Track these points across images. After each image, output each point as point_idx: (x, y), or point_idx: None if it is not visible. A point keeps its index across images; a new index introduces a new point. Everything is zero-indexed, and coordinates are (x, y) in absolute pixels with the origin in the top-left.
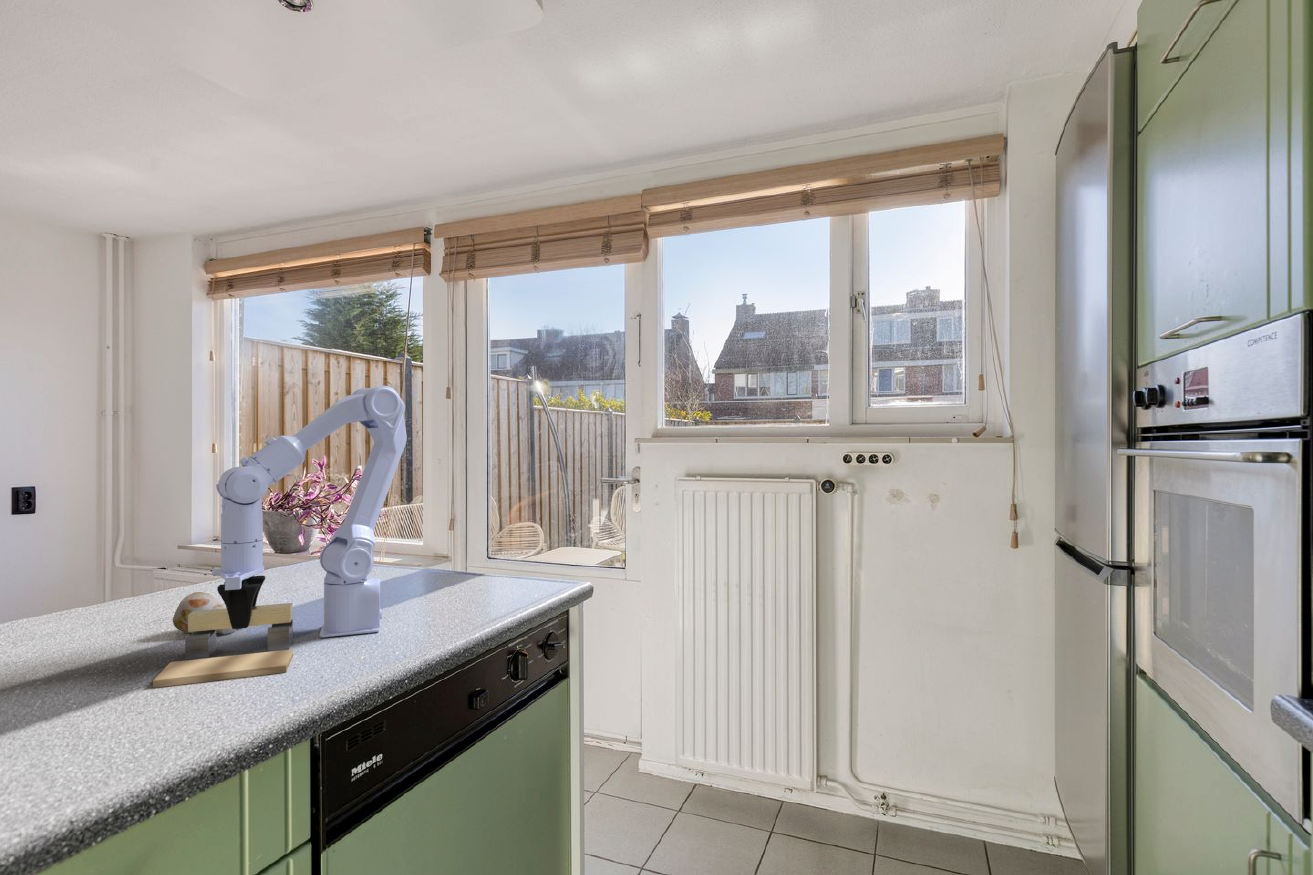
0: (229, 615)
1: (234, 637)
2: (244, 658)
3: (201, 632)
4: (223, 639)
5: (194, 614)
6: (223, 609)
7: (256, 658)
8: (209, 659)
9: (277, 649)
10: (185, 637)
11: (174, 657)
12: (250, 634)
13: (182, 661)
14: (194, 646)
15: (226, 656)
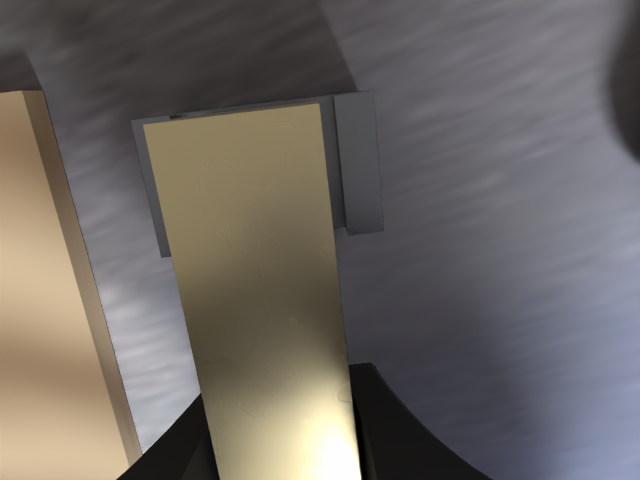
0: (164, 436)
1: (564, 220)
2: (46, 422)
3: (337, 149)
4: (545, 174)
5: (174, 174)
6: (311, 365)
7: (39, 468)
8: (49, 277)
9: None
10: (134, 120)
11: (255, 25)
12: (592, 283)
13: (29, 152)
14: None
15: (86, 339)
